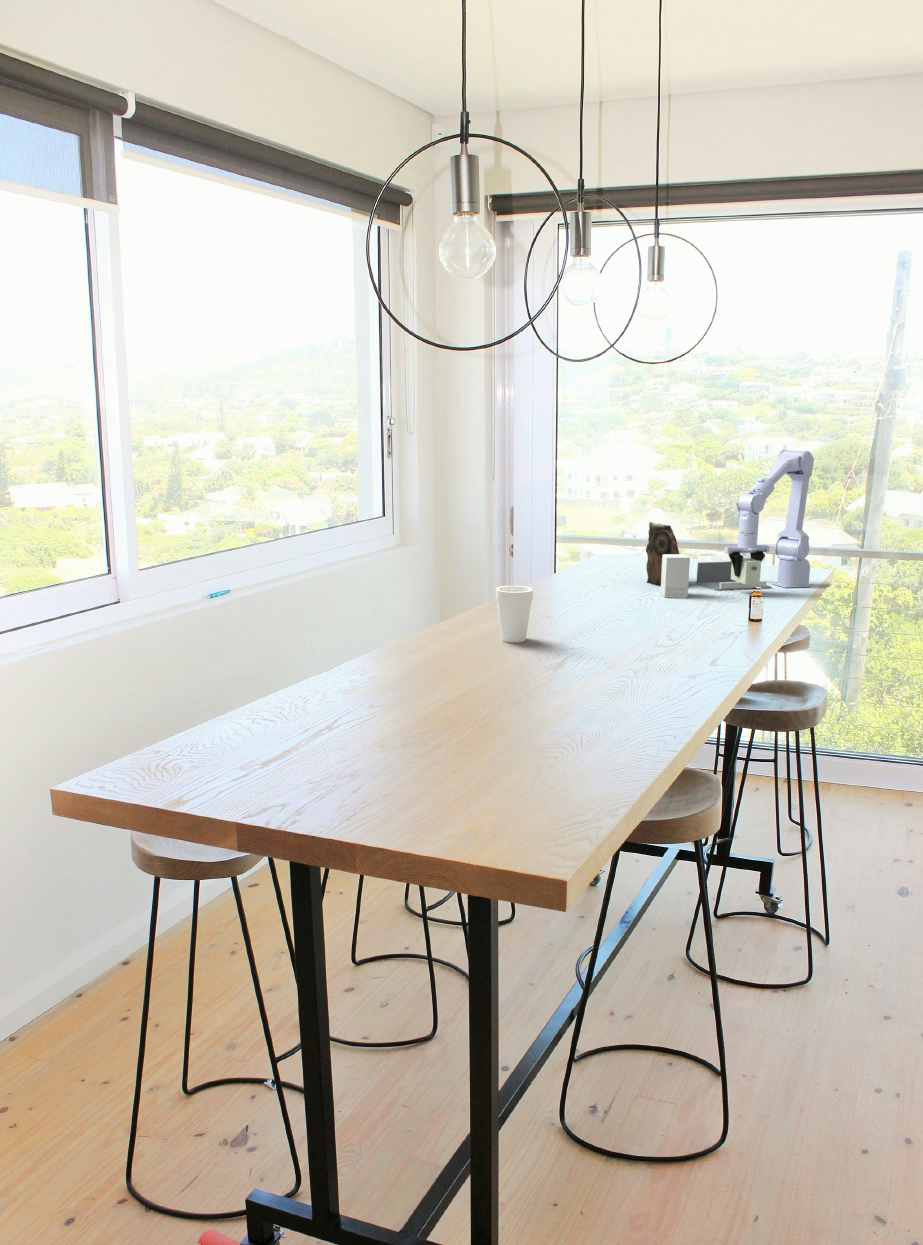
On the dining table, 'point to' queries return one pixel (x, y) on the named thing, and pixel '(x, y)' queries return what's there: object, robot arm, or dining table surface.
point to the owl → (659, 550)
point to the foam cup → (513, 611)
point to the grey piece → (721, 577)
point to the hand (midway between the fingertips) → (745, 575)
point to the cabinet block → (748, 571)
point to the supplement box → (675, 575)
